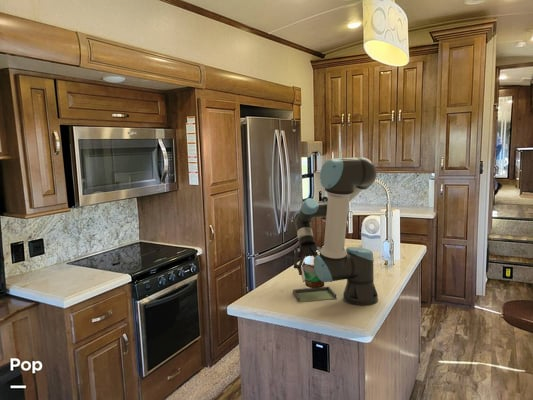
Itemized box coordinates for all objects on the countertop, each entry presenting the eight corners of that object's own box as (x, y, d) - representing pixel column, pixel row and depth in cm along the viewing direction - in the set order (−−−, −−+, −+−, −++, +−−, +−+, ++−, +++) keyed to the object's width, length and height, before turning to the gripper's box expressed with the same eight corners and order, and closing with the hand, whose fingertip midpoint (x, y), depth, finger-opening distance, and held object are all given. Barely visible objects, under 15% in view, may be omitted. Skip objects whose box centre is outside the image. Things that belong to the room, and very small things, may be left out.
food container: (297, 285, 192) (296, 265, 190) (304, 281, 196) (303, 261, 195) (319, 291, 184) (318, 269, 182) (326, 286, 188) (326, 265, 187)
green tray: (336, 298, 186) (336, 294, 186) (297, 302, 184) (297, 298, 183) (329, 290, 198) (329, 286, 197) (292, 293, 195) (292, 289, 195)
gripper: (326, 241, 205) (337, 281, 191) (282, 244, 202) (290, 285, 188) (329, 232, 199) (340, 274, 185) (284, 235, 196) (292, 278, 182)
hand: (315, 280), depth 187 cm, fingers closed on food container, 9 cm apart
